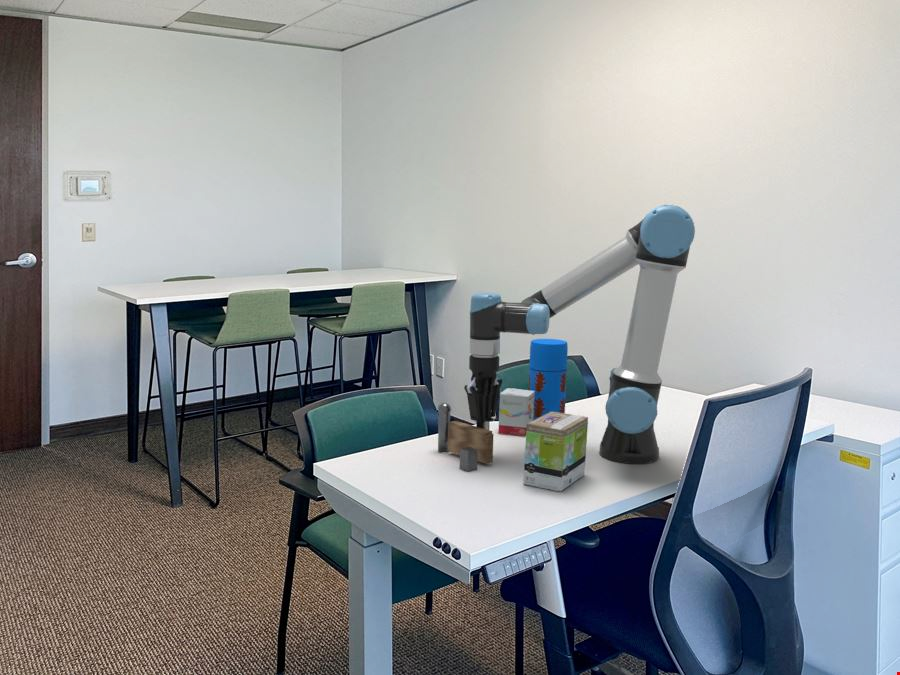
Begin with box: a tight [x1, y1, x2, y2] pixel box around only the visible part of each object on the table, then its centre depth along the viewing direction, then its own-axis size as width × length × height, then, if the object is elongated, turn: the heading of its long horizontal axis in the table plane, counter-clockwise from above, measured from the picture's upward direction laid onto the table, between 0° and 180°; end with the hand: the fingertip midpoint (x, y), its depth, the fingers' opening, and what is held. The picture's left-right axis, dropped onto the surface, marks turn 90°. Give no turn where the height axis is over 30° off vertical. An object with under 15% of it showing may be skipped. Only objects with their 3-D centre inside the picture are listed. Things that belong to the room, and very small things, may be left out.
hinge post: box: [437, 402, 452, 453], centre depth 212 cm, size 3×3×13 cm
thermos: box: [528, 338, 569, 420], centre depth 239 cm, size 11×11×25 cm
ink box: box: [498, 387, 535, 437], centre depth 232 cm, size 9×9×12 cm
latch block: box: [459, 447, 478, 473], centre depth 198 cm, size 3×3×5 cm
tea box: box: [522, 411, 589, 492], centre depth 191 cm, size 15×10×15 cm
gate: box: [448, 420, 494, 465], centre depth 205 cm, size 14×2×8 cm, turn 44°
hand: (482, 445), depth 208 cm, fingers closed
